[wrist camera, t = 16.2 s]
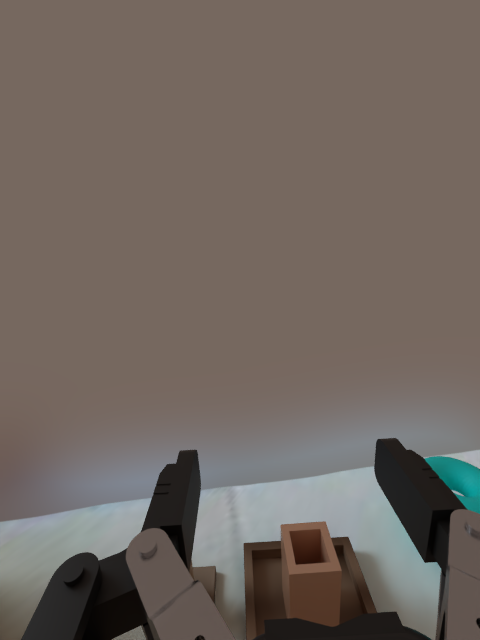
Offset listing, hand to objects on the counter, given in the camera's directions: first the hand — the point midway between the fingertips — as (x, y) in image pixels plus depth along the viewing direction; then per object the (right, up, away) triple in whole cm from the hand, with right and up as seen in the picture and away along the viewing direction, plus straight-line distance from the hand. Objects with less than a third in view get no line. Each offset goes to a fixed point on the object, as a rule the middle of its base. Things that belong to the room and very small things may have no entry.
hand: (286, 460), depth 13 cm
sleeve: (+6, -27, +20) cm, 34 cm away
